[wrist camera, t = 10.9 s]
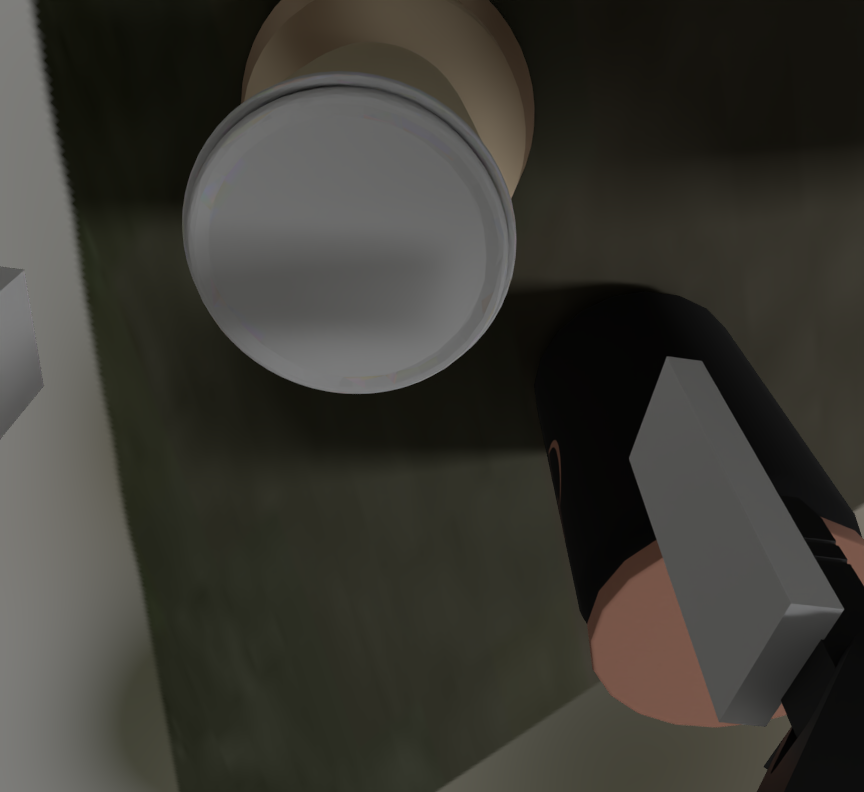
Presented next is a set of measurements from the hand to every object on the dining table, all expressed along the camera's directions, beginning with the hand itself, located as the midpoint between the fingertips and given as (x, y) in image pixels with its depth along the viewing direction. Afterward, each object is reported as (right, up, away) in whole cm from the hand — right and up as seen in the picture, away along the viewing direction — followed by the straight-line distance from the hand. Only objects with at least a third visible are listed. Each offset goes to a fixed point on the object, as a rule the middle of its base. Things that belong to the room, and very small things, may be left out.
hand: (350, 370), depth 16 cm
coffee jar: (+13, +1, +26) cm, 29 cm away
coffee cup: (-1, +10, +15) cm, 18 cm away
